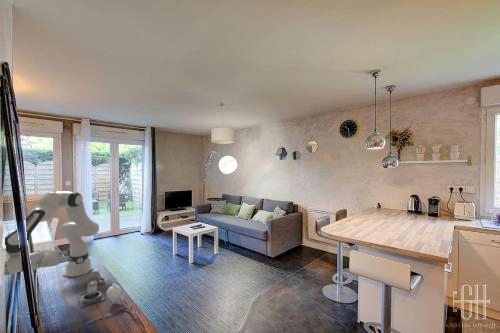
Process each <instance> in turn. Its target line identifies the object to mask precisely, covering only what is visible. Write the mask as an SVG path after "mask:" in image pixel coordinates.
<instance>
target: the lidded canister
mask: <svg viewBox="0 0 500 333" xmlns="http://www.w3.org/2000/svg"><path fill="white" fill-rule="evenodd" d="M97 283H98V282H97V281H90V282H88V284H87V283H86V284H87V285H86V287H87V290H86V294H87V299H93V298H96V297H97V291H98V284H99V283H98V284H97Z"/></svg>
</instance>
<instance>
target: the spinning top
mask: <svg viewBox="0 0 500 333" xmlns="http://www.w3.org/2000/svg"><path fill="white" fill-rule="evenodd" d="M121 292H122V288H121V286H120V285H117V283H112V285H111V286H109V288H107V290H106V296H107V298H108V299H109V301H111V302H112V304H115V301H116V300H117V299H118V298H119V297H120V294H121Z"/></svg>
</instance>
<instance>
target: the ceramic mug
mask: <svg viewBox="0 0 500 333" xmlns="http://www.w3.org/2000/svg"><path fill="white" fill-rule="evenodd" d="M90 281H97V282H98V283H97V285H98V284H99V285H100V284H101V285H102V284H103V285H104V284H105V282H106V279H105V278H104V277H101V273H100V272H99V271H96V270H95V271H90V272H89V274H88V275H87V277H86V284H88V282H90Z"/></svg>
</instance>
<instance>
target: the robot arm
mask: <svg viewBox="0 0 500 333" xmlns="http://www.w3.org/2000/svg"><path fill="white" fill-rule="evenodd" d="M59 208H64V209H65V212H66V216H67V219H68V220H69V222H65V223H63V224H62V225H61V227H60V230H59V232H60V235H61V236H63V237H64V238H65V239H66V240H67V242H68V244H69V248H70V251H69V252H70V253H69V255H68V250H58V249H56V248H51V249H44V250H40V249H38V250H35V251H34V252H30V260H31V267H32V270H37V269H41V268H42V269H44V268H49V267H56V266H58V265H60V262H63V261H65V260H68V262H67V263H66V264H65V265H64V271H63V274H62V277H72V278H73V277H78V276H83V275H85V274H87V273H90V272H91V271H92V270H94V267H93V266H91V265H92V264H91V263H92V262H91V259H90V257H89V255H90V254H89V243H88V241H86V240H85V239H84V238H83V237H92V236H96V235H97V234H98V232H99V230H100V225H99V223H97V222H96V221H93V220H92V219H91V218H90V217H89V216H88V214H87V212H86V208H85V204H84V200H83V195H82V194H81V193H80V192H78V191H68V190H60V191H59V190H54V191H53V190H52V191H49V192H46V193H45V194H44V195H43V196H41V198H39V200H38V201H37V202H36V203H34V205H33V207H32V209H31V210H30V212H29V214H28V215H27V217H26V218H25V219H26V232H27V240H28V245H30V244H29V243H30V236H31V234H32V233H33V232H34V230H35V229H36V227H38V225H39V223H42V222H47V221H49V220H51V218H52V217H53V216H54V215H55V213H57V212H56V211H57V210H58V209H59ZM4 238H5V245H6V251H7V253H8V255H9V256H10V257H9V259H8V262H7V269H8V272H9V274H8V275H14V274H18V273H19V272H20V273H21V272H23V271H22V265H21V257H20V248H19V240H18V233H17V228H16V229H15V230H14V231H13V232H11V233H9V234H8V235H6V236H5V237H4ZM61 255H64V256H61ZM32 270H31V271H32Z"/></svg>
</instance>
